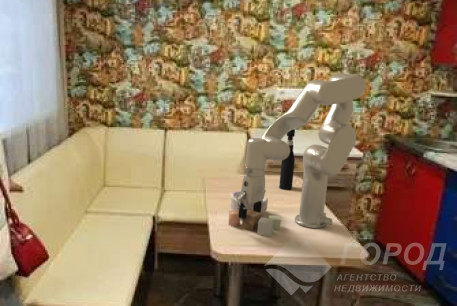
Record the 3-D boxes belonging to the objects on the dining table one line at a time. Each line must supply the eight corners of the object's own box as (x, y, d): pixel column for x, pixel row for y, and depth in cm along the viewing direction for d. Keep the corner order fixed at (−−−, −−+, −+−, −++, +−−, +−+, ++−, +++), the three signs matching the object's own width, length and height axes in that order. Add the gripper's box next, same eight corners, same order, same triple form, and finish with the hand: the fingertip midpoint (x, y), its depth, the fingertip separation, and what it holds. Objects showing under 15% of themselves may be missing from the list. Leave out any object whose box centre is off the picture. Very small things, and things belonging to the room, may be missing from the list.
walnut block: (260, 228, 161) (261, 213, 160) (252, 231, 157) (253, 216, 156) (249, 224, 164) (250, 209, 163) (241, 227, 160) (242, 213, 159)
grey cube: (273, 231, 158) (274, 219, 157) (270, 236, 154) (271, 224, 153) (260, 229, 160) (261, 217, 159) (257, 234, 155) (258, 221, 154)
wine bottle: (292, 190, 209) (298, 131, 202) (279, 189, 209) (285, 130, 202) (291, 186, 215) (296, 128, 208) (278, 185, 215) (283, 127, 208)
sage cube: (278, 225, 164) (279, 216, 163) (279, 229, 161) (280, 220, 160) (268, 224, 165) (269, 215, 164) (269, 229, 161) (269, 219, 160)
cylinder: (242, 224, 163) (243, 212, 162) (235, 227, 160) (236, 215, 159) (233, 221, 166) (233, 209, 165) (226, 224, 162) (227, 212, 161)
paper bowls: (246, 224, 164) (248, 204, 162) (222, 211, 175) (223, 193, 173) (274, 216, 174) (275, 198, 172) (249, 205, 185) (250, 187, 183)
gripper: (249, 177, 146) (244, 223, 150) (275, 170, 160) (270, 212, 164) (232, 172, 151) (227, 217, 154) (258, 166, 164) (254, 207, 168)
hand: (249, 215), depth 159 cm, fingers open, 9 cm apart
